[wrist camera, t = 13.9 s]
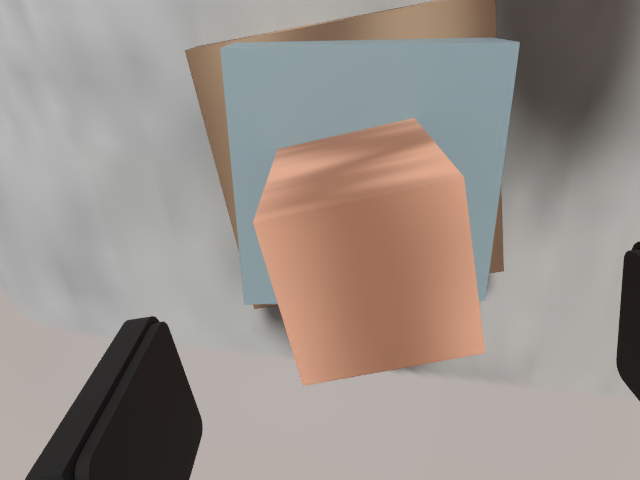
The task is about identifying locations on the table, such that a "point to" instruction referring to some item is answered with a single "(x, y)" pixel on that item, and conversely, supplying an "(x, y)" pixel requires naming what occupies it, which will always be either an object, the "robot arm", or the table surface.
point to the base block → (400, 23)
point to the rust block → (370, 253)
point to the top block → (368, 117)
